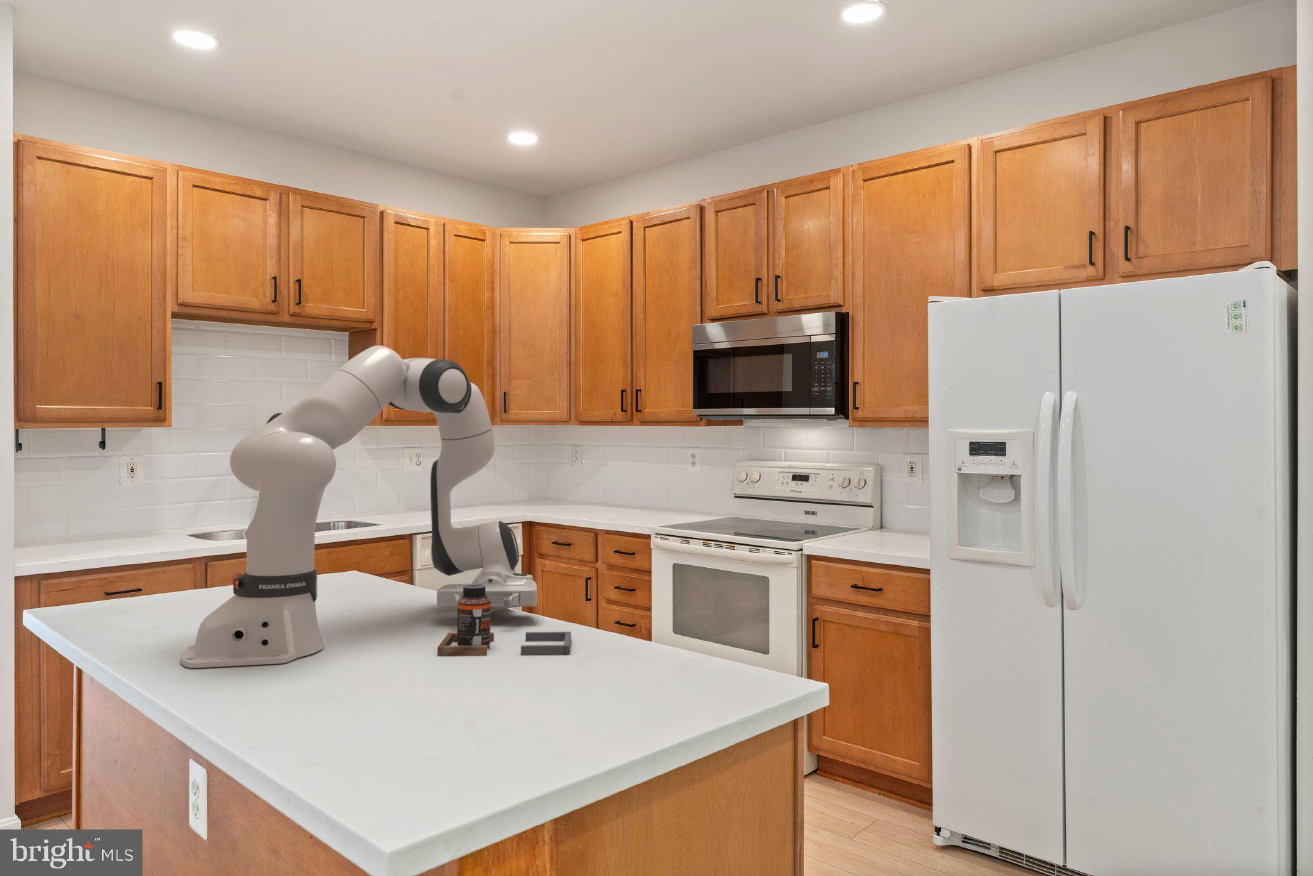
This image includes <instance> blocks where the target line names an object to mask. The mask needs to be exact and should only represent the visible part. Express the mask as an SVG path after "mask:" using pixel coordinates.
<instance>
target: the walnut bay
mask: <svg viewBox="0 0 1313 876" xmlns="http://www.w3.org/2000/svg"><path fill="white" fill-rule="evenodd" d="M491 642H495V632H494V631H490V643H491ZM453 643H457V632H447V634H446V636H445V637H444V638H443V639H442V641H441V642H440V643H439V644H438V646H437V649H436V650H437V652H436V653H437V657H453V656H454V657H455V656H459V657H460V656H461V657H463V656H465V657H467V656H468V657H469V656H471V657H472V656H473V657H474V656H487V655H488V648H487V645H484V646H457V645H452V644H453Z"/></svg>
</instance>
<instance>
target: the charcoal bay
mask: <svg viewBox="0 0 1313 876" xmlns="http://www.w3.org/2000/svg"><path fill="white" fill-rule="evenodd" d="M571 641H572V632H571V631H525V642H563V644H522V645H520V656H537V655H538V656H548V655H551V656H555V655H556V656H557V655H559V656H560V655H563V656H566V655H567V656H568V655H570V651H571Z"/></svg>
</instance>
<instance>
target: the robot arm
mask: <svg viewBox="0 0 1313 876" xmlns="http://www.w3.org/2000/svg"><path fill="white" fill-rule="evenodd" d="M387 405H389V406H391V407H392V408H395V409H398V410H402V411H405V410H406V411H407V410H408V411H412V412H417V413H432V414H433V415H434V416H435V418H436V421H437V426H438V431H439V436H440V443H441V446H440V447H441V449H440V453H439V457H438V458H437V459H436V460H435V461H433V462H432V465H431V469H430V483H429V484H430V516H431V517H430V518H431V519H430V520H431V545H430V558H431V562H432V565H433V568H434V569H435V570H436V571H438V572H440V573H441V574H444V575H446V576H448V577H451V576H453V575H458V574H462V573H464V572H467V571H473V570H480V569H481V570H480V572H479V573H478V574H477V575H476V576H475V578H474V579H473V580H472V582H471V583H450V584H446V585H443V586H441V587H439V588H438V589H437V591H436V605H437V606H438V607H439V608H440V607H441V608H458V600H459V599H460V598H461V597H463V595H464V593H463V586H465V585H471V584H480V585H485V587H486V592H485V594H486V596H487V597H488V598H489V599H490V601H491V613H494V612H498V611H501V610H507V609H510V608H519V607H522V608H524V607H537V605H538V585H537V582H536V581H534V578H533V575H532V574H525V573H517V571H516V568H517V566H518V563H519V560H520V554H519V553H520V552H519V545H518V541H517V537H516V534H515V532H514V530H512V528H511V527H510V526H509V525H508V524H507V523H505V522H503V521H501V520H498V521H491V522H484V523H480V524H475V525H470V526H464V527H458V528H457V527H454V526H452V514H451V513H452V512H451V511H452V510H451V493H452V491H453V489H454V488H455V487H457V485H458V484H460V483H462V482H463V481H465V480H467V479H469V478H470V477H472V476H474V475H475V474H477V473H478V472H480V471H481V470H482V469H484V468H485V467H486V466H487V465H488V464H489V462H490V461H491V460H492V458H493V456H494V453H495V448H496V446H495V436H494V429H493V426H492V421H491V417H490V414H489V411H488V408H487V405H486V402H485V399H484V396H483V394H482V391H481V390H480V388H479V387H478V386H477V384H475V383H473V382H470V379H469V376H468V374H467V372H466V371H465V370H464V368H463V367H462V366H461V365H460V364H458V363H457V362H455V361H452V360H449V359H445V358H429V357H428V358H427V357H413V358H411V357H410V358H402V357H401V356H400V354H398V353H397V352H396V351H395V350H393V349H391V348H389V347H387V346H384V345H373V346H371V347H369V348H367V349H364V350H363V351H361V352H359V353H358V354H356V355H355V356H353V357H352V358H350V359H349V360H348V361H347V362H345V363H343V365H341V366H340V367H339V368H338V369H337V370H336V371H334V372H333V373H332V374H330V376H329V377H328V378H326V380H323V382H322V383H321V384H320V385H318V386H317V387H316V388H315V389H314V390H312V392H311V393H310V394H308V395H307V396H306V397H305V398H303V399H302V400H300V401H299V402H298V403H296V404H295V405H293V406H291V407H290V408H289V409H287V410H285V411H283V412H282V413H281V414H279V415H278V416H276V417H274V418H273V419H272V420H271V421H269V422H267V423H266V424H265V425H263V426H262V427H261V428H259V429H258V430H257V431H255V432H253V433H252V434H250V435H249V436H247V437H245V438H243V439H242V440H240V441H239V442H238V443H237V444H236V445H235V446H234V448H233V449H232V451H231V453H230V459H229V466H230V470H231V472H232V474H233V476H234V477H235V478H236V479H237V480H238V481H240V483H242V484H243V485H244V486H246V487H248V488H249V489H251V490H253V491H256V492H259V495H258V499H257V504H256V508H255V512H254V515H253V518H252V520H251V521H250V522H249V524H248V526H247V529H246V572H244V573H240V572H236V573H233V575H232V576H231V579H230V580H231V583H232V585H233V586H232V587H233V588H232V590H233V594H234V595H233V596H231V597H230V598H229V599H228V600H226V601H224V603H223V604H221V605H220V606H219V607H217V608H215V609H214V610H213V611H212V612H210V613H209V614H208V615H207V616H205V618H204V619H203V620H202V621H201V623H200V625H199V627H198V629H197V633H196V638H195V644H194V645H190V646H189V647H187V648H186V649H184V650H183V651H182V653H181V657H180V663H181V665H182V666H184V667H186V668H189V669H201V668H219V667H235V666H236V667H238V666H239V667H240V666H256V665H257V666H258V665H273V664H274V665H275V664H277V665H278V664H285V663H289V662H291V661H293V660H295V659H299V658H301V657H305V656H309V655H312V654H315V653H317V652H319V651H321V650H322V649H324V643H323V641H322V640H323V639H322V637H321V632H320V629H319V628H320V627H319V623H318V616H317V608H316V601H317V597H318V575H317V570H316V568H315V538H316V537H315V536H316V535H315V534H316V525H317V519H318V513H319V509H320V506H321V502H322V498H323V496H324V492H325V489H326V487H327V486H328V485H329V483H330V482H331V481H332V479H333V477H334V476H335V472H336V469H337V459H336V455H335V453H334V450H335V449H337V448H339V447H341V446H343V445H345V444H348V443H349V442H350V441H352V440H353V439H355V437H356V436H357V435H358V434H359V433H360V432H361V431H362V430H363V429H364V428H365V427H366V426H367V425H368V424H369V423H370V422H371V421H372V420H373V419H375V417H377V415H378V414H379V413H381V412H382V410H384V408H385V407H387Z"/></svg>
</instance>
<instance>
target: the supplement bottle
mask: <svg viewBox="0 0 1313 876" xmlns="http://www.w3.org/2000/svg"><path fill="white" fill-rule="evenodd" d="M470 584H471V585H465V586H463V593H464V595H463V597H461V598H460V599H459V600H458V607H456V608H457V610H456V611H457V614H456V615H457V618H456V622H457V623H456V624H457V625H456V627H457V628H456V633H457V642H456V646H484V645H487V649H488V648H489V647H490V646H491V642H490V632H491V615H492V612H491V601H490V599H489V598H488V597H487V596H486V594H485V592H486V587H485V585H480V584H472V583H470Z"/></svg>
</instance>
